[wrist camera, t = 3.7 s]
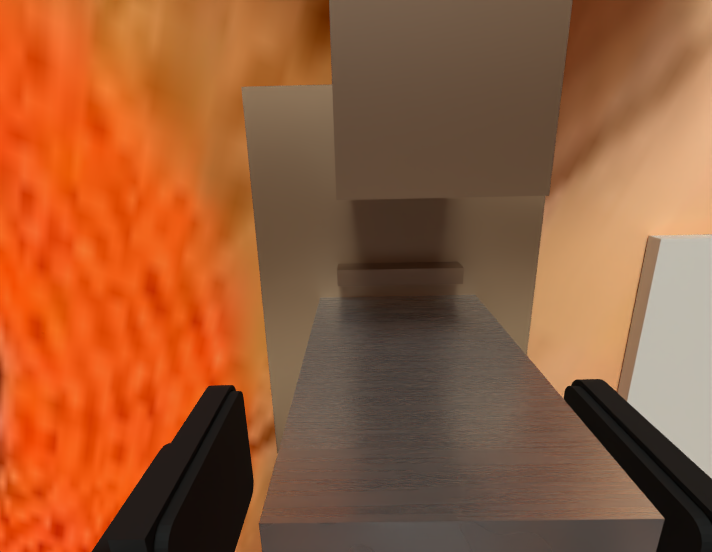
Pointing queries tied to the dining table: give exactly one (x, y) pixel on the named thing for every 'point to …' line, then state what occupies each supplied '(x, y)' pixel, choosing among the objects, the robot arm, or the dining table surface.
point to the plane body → (407, 165)
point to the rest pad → (674, 344)
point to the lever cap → (439, 443)
